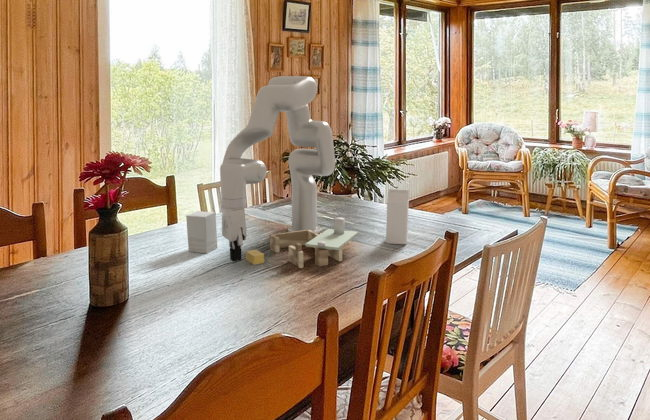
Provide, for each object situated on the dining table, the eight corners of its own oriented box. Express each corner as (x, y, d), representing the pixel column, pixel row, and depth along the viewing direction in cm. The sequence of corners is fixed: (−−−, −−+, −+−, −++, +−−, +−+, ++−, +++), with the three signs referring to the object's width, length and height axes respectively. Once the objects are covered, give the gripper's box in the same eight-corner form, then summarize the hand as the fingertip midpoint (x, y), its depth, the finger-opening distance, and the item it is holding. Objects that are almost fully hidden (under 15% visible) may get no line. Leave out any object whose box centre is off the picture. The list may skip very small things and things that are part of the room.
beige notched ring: (270, 248, 188) (269, 228, 187) (309, 242, 195) (309, 223, 194) (302, 269, 167) (301, 247, 166) (344, 262, 174) (344, 240, 173)
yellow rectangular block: (246, 260, 177) (245, 251, 176) (256, 258, 179) (255, 249, 178) (254, 265, 172) (253, 256, 171) (264, 263, 174) (264, 254, 173)
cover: (328, 230, 191) (328, 214, 190) (358, 234, 187) (358, 217, 186) (303, 247, 172) (303, 229, 170) (336, 251, 168) (336, 232, 167)
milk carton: (406, 244, 193) (408, 191, 189) (385, 243, 195) (387, 190, 191) (407, 239, 200) (409, 188, 196) (387, 238, 202) (389, 187, 197)
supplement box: (218, 247, 190) (216, 212, 187) (206, 253, 183) (205, 216, 180) (199, 245, 192) (197, 210, 189) (187, 251, 185) (185, 215, 182)
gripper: (214, 199, 173) (216, 255, 177) (230, 208, 160) (232, 269, 164) (237, 197, 176) (239, 252, 180) (254, 206, 163) (256, 265, 167)
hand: (235, 260), depth 172 cm, fingers closed
